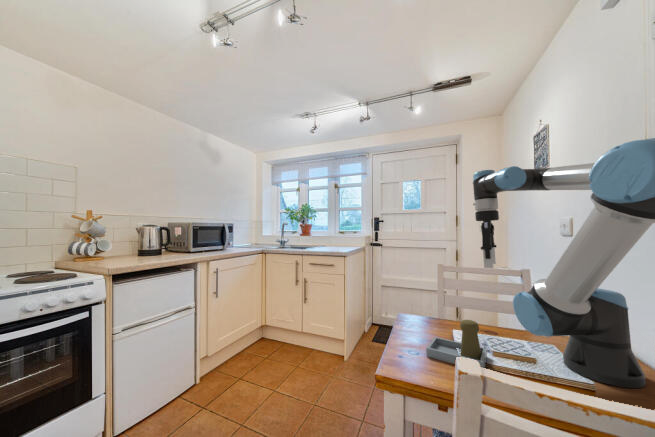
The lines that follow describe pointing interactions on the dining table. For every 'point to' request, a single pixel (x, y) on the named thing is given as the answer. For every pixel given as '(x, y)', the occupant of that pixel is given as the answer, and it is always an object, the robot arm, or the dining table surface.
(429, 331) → the dining table surface
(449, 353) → the trough
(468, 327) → the cork
